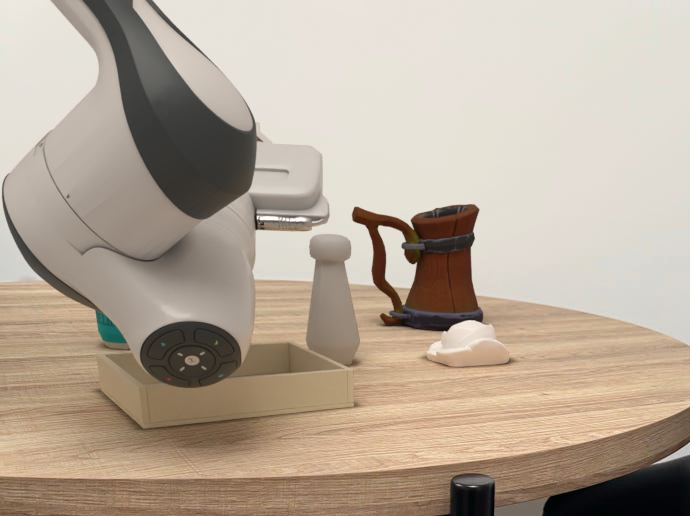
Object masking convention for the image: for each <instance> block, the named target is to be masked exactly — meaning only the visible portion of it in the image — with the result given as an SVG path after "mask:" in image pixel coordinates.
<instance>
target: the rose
mask: <svg viewBox="0 0 690 516" xmlns="http://www.w3.org/2000/svg"><path fill="white" fill-rule="evenodd" d="M425 354H426V357H427V360H429V361H432V362H436V363H439V364H442V365H445V366H448V367H453V368H459V367H461V368H463V367H478V366H492V365H503V364H507V363H508V362H509V361H510V357H511V355H510V350H509V349H508V347H507V346H506V345H505V344H504V343H502V342H500V341H499V340H497V336H496V331H495V328H494V326H493V324H490V323H489V324H485V323H483V322H482V323H480V322H477V321H475V320H473V321H472V320H468V321H464V322H461V323H458V324H455V325H453V326H452V327H451V328H450V329H449V330H443V332H441V335H440V340H438V341H435V342H433V343H431V345H430V346H429V348H428V350H427V351H426V352H425Z"/></svg>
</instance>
